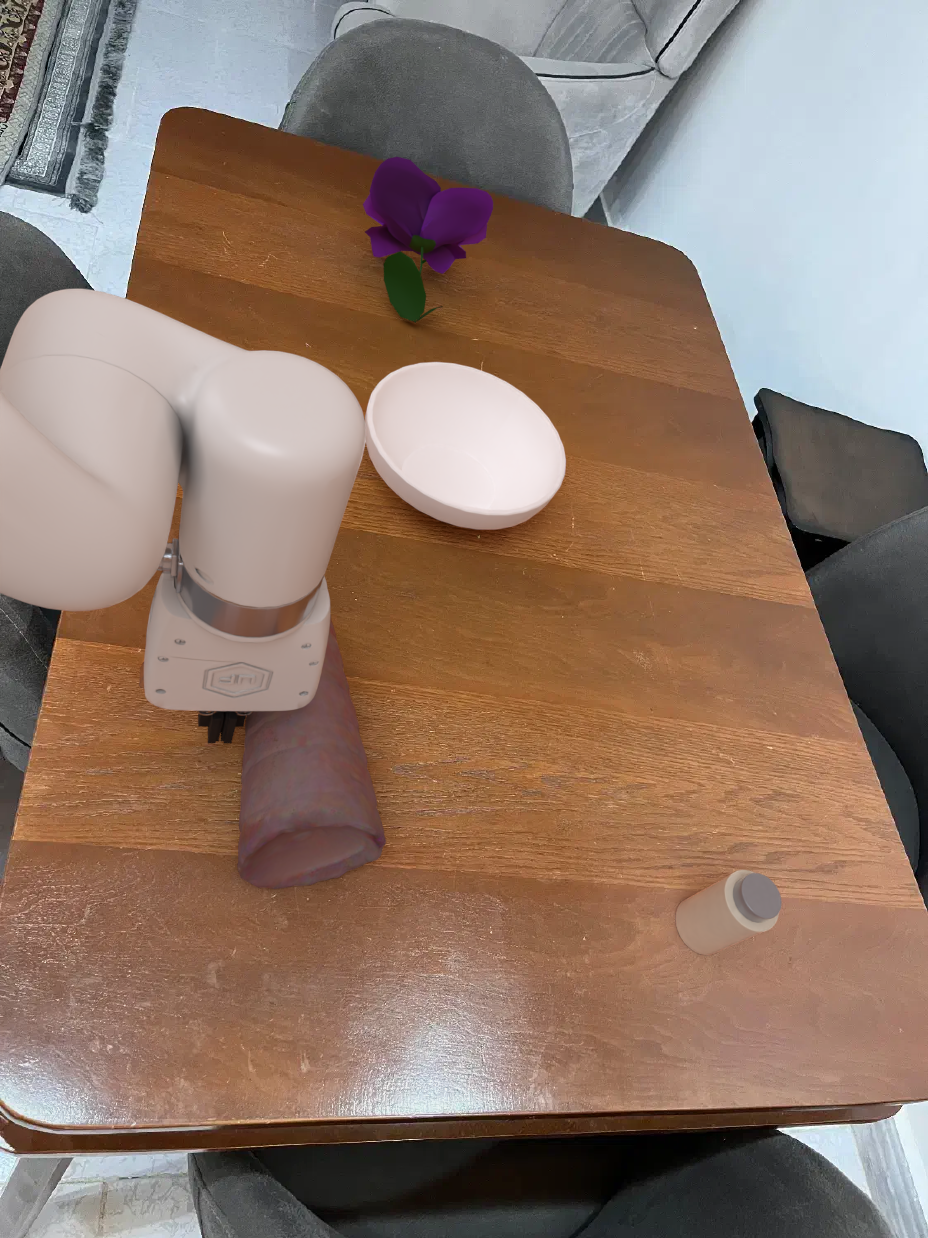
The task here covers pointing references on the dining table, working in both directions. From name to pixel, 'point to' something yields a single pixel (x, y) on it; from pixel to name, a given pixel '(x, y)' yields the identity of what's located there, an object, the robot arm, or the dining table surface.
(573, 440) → the dining table surface
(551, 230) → the dining table surface
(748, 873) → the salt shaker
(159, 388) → the robot arm
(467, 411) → the bowl
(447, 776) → the dining table surface
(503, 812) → the dining table surface
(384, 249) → the flower
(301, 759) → the brown tapered cylinder
